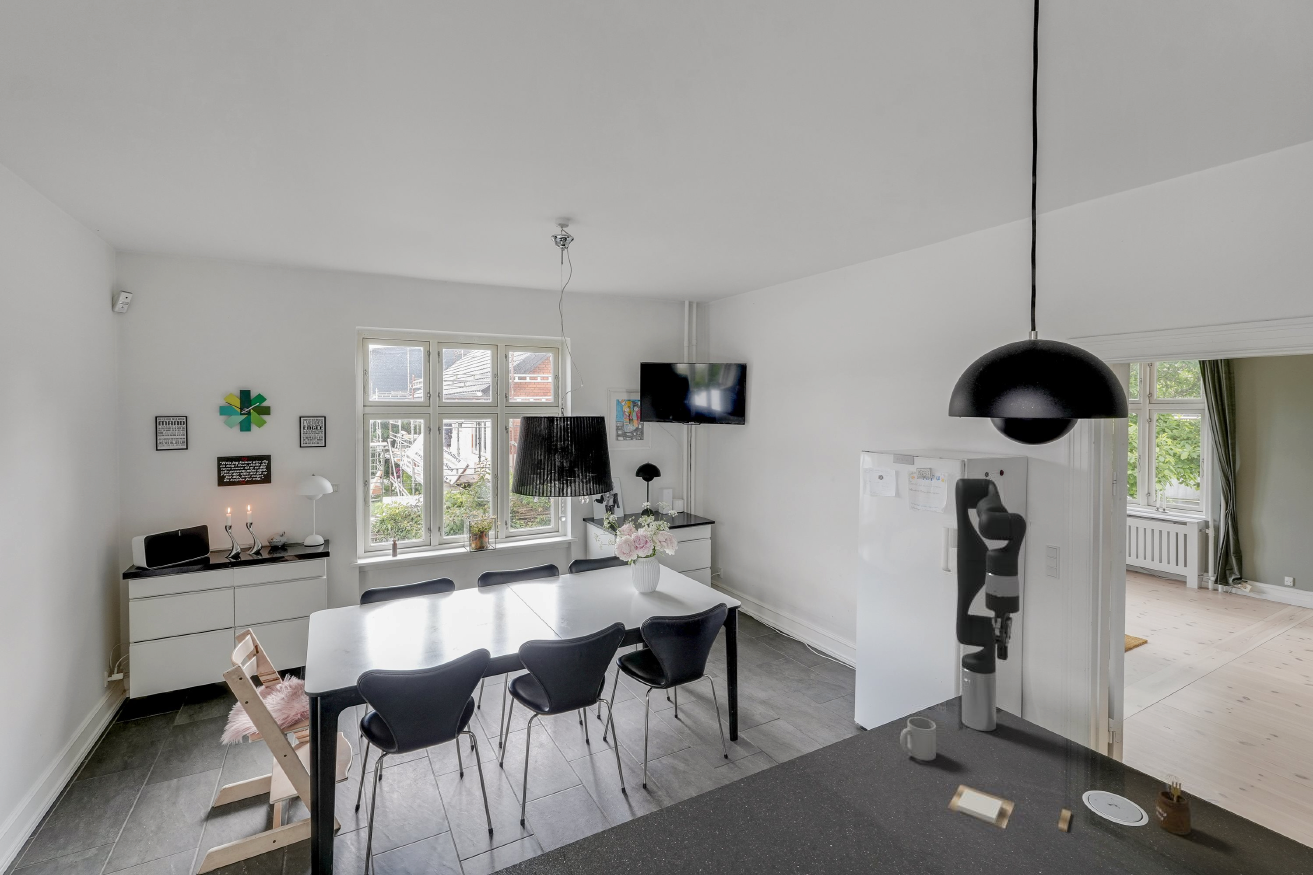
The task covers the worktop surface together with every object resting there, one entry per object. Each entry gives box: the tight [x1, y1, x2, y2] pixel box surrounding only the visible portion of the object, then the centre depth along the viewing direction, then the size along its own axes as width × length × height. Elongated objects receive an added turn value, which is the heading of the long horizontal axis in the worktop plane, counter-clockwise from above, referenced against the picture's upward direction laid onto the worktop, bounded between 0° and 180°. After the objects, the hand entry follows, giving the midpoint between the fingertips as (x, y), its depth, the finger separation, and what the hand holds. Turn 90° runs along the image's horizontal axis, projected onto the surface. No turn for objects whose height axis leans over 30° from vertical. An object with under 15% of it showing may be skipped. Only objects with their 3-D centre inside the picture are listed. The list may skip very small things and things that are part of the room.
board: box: [947, 784, 1016, 829], centre depth 144 cm, size 12×12×1 cm
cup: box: [899, 716, 937, 761], centre depth 167 cm, size 7×10×9 cm
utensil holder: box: [1155, 773, 1192, 836], centre depth 136 cm, size 6×6×12 cm
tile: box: [957, 789, 1002, 823], centre depth 143 cm, size 1×8×8 cm
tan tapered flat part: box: [1057, 808, 1072, 833], centre depth 136 cm, size 13×4×1 cm, turn 140°
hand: (1002, 658), depth 153 cm, fingers closed
